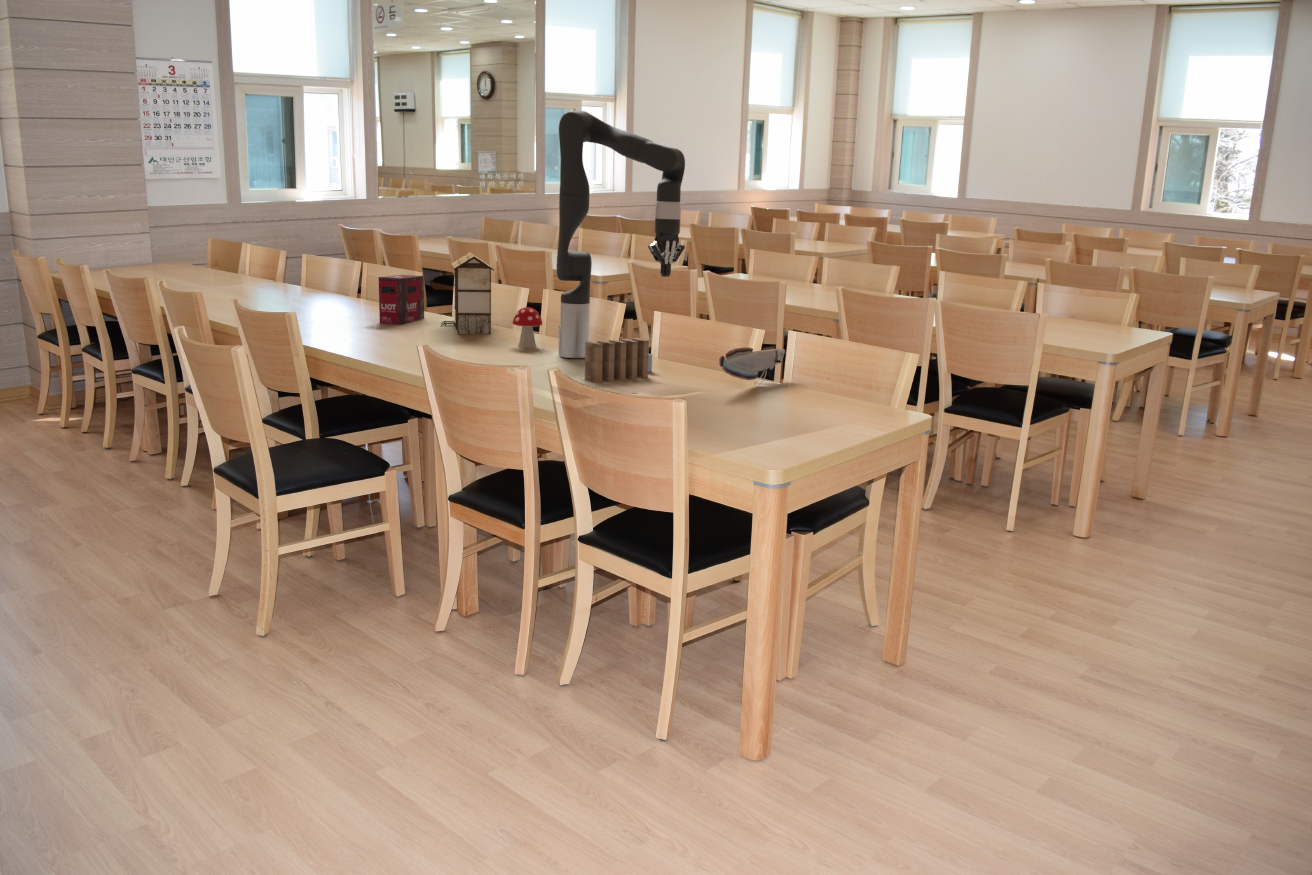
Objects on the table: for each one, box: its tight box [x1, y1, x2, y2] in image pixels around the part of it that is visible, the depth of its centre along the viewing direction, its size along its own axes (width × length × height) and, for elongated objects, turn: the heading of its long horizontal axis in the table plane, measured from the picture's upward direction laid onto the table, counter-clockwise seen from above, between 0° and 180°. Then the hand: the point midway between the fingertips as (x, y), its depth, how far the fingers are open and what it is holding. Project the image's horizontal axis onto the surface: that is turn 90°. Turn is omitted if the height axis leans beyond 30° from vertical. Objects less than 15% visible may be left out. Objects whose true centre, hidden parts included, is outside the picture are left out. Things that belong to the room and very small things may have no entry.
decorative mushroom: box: [512, 306, 543, 349], centre depth 336 cm, size 10×9×15 cm
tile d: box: [596, 340, 615, 382], centre depth 290 cm, size 6×2×11 cm, turn 39°
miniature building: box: [440, 252, 495, 335], centre depth 365 cm, size 25×19×30 cm
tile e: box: [584, 340, 603, 384], centre depth 288 cm, size 6×2×11 cm, turn 39°
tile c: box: [608, 339, 626, 381], centre depth 293 cm, size 6×2×11 cm, turn 39°
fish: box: [718, 347, 786, 386], centre depth 288 cm, size 34×7×12 cm, turn 137°
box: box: [378, 274, 425, 326], centre depth 379 cm, size 16×9×20 cm, turn 161°
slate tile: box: [648, 353, 653, 373], centre depth 308 cm, size 6×2×11 cm
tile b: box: [620, 338, 638, 380], centre depth 296 cm, size 6×2×11 cm, turn 39°
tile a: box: [631, 337, 650, 378], centre depth 298 cm, size 6×2×11 cm, turn 39°
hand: (665, 276), depth 302 cm, fingers closed
